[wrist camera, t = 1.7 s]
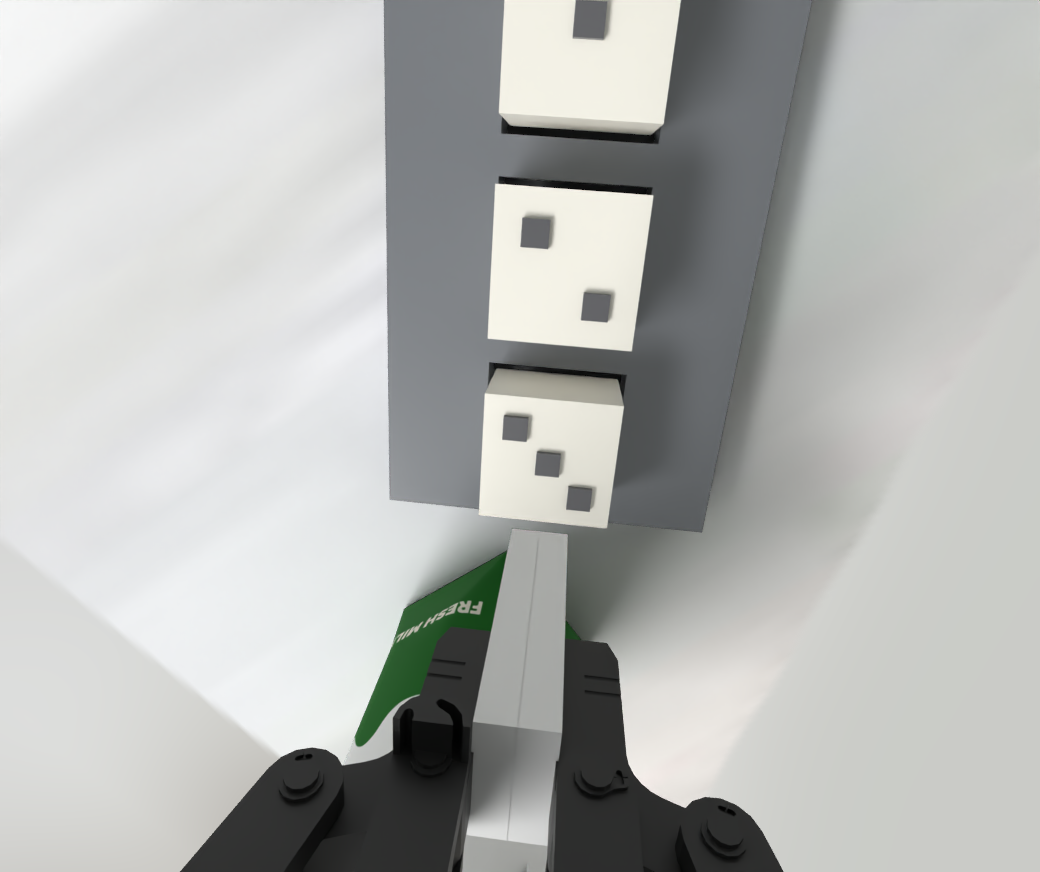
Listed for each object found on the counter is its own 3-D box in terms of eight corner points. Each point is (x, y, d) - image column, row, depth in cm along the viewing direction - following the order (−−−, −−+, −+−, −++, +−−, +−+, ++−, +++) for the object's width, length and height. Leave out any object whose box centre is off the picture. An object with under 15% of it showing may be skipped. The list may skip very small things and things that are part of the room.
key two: (507, 185, 23) (494, 183, 19) (642, 195, 22) (654, 195, 19) (499, 319, 24) (486, 339, 21) (624, 330, 24) (632, 352, 21)
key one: (520, -45, 20) (508, -95, 17) (673, -37, 20) (693, -86, 16) (510, 125, 22) (497, 112, 18) (650, 135, 22) (664, 123, 18)
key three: (496, 368, 25) (483, 394, 22) (617, 379, 25) (624, 408, 21) (490, 476, 27) (477, 517, 24) (603, 488, 27) (607, 531, 23)
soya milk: (479, 714, 34) (364, 1317, 16) (378, 601, 32) (107, 1151, 14) (612, 651, 32) (659, 1276, 13) (513, 523, 30) (406, 1064, 11)
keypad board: (399, -85, 21) (382, -113, 19) (808, -66, 20) (830, -92, 19) (401, 480, 29) (389, 499, 28) (693, 510, 29) (701, 532, 27)
